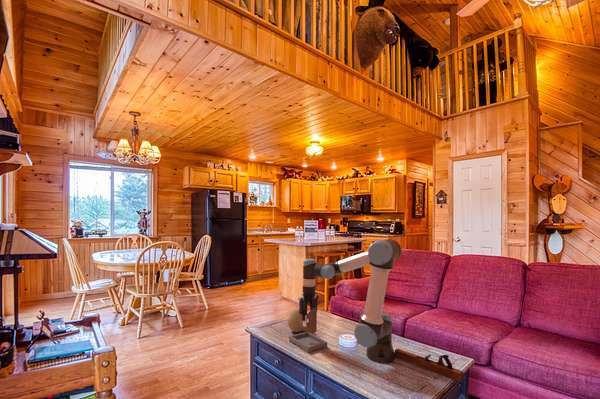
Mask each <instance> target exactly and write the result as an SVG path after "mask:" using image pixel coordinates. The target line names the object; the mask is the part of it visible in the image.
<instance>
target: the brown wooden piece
mask: <svg viewBox="0 0 600 399" xmlns="http://www.w3.org/2000/svg"><path fill="white" fill-rule="evenodd" d="M303 301H304V299H303ZM303 304H304V302H303ZM306 315H307V327H305V326H303V320H302V315H301V322H300V328H301V329H303V330H302V331H305V332H310V333H311V334H314V333H317V329H318V328H317V325H318V322H317V320H318V318H317V317H318V316H317V315H318V306H317V307H316V308H313V309H312V310H310V311H309V312H308V310H307V311H306Z"/></svg>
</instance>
